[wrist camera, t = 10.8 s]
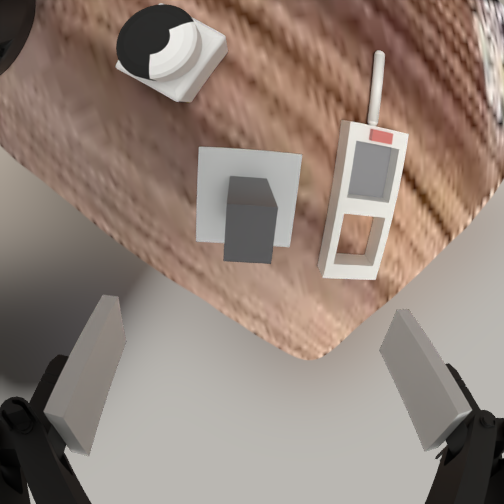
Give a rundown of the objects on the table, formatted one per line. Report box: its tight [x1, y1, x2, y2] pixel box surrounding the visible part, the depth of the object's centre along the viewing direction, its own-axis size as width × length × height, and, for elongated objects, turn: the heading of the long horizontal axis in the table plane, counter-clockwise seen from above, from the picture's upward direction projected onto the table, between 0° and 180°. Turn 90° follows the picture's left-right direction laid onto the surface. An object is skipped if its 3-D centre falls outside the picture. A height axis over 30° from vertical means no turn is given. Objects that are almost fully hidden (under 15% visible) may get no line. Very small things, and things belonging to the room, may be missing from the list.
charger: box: [223, 176, 278, 264], centre depth 30 cm, size 5×4×10 cm
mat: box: [196, 146, 302, 247], centre depth 34 cm, size 11×11×1 cm
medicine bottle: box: [116, 3, 228, 103], centre depth 22 cm, size 7×7×12 cm
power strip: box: [317, 50, 409, 280], centre depth 31 cm, size 27×7×4 cm, turn 175°
